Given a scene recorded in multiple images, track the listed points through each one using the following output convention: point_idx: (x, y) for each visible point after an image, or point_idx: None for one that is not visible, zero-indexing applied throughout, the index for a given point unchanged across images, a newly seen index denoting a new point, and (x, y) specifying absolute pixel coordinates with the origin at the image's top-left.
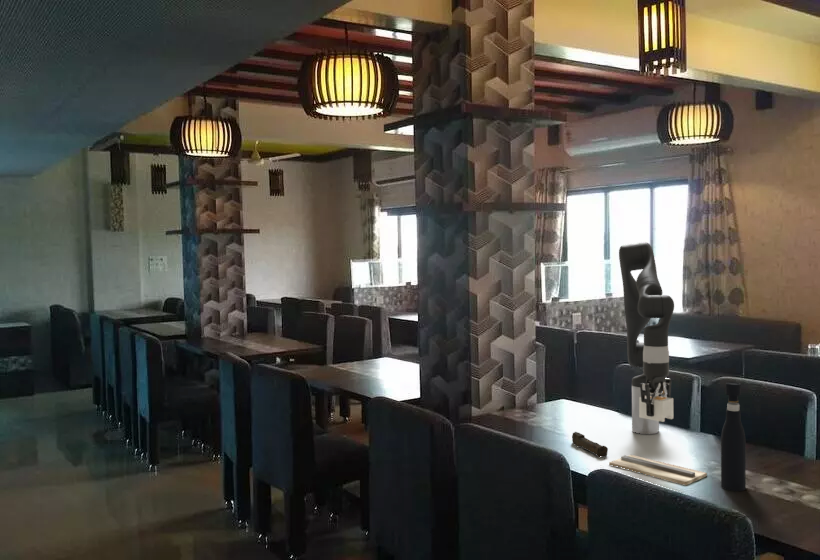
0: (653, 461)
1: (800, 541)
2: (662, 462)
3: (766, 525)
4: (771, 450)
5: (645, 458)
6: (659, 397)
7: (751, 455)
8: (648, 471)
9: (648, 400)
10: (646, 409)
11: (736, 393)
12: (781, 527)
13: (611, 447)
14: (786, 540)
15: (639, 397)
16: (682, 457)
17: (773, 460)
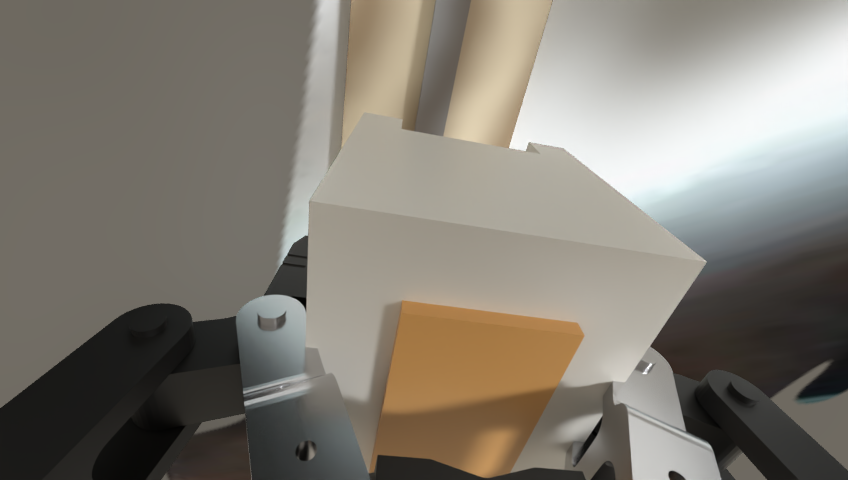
0: (505, 89)
1: (195, 477)
2: (510, 129)
3: (217, 438)
4: (832, 342)
5: (536, 34)
6: (449, 454)
7: (757, 316)
8: (353, 129)
9: (127, 432)
10: (281, 266)
11: None
12: (231, 453)
13: None
14: (178, 466)
15: (313, 206)
16: (665, 150)
17: (713, 365)
